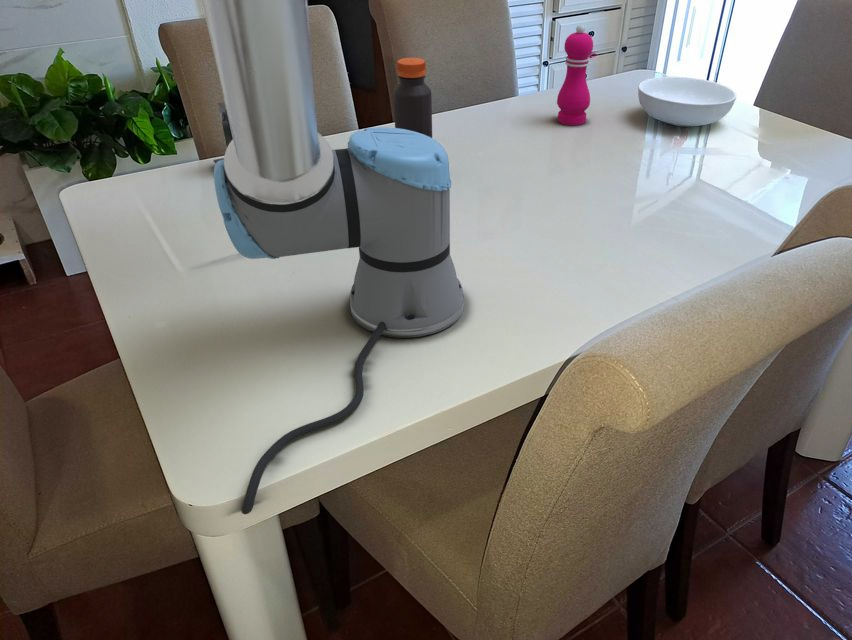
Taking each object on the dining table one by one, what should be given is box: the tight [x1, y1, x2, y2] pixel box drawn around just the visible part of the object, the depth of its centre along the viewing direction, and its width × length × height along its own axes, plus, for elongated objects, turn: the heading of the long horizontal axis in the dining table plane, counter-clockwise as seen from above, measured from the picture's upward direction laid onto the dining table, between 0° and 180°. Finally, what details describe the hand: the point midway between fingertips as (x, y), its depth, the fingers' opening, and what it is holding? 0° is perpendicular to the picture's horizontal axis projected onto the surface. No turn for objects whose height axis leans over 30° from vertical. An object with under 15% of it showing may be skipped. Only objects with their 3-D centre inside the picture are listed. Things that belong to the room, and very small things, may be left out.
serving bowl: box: [637, 76, 737, 128], centre depth 156 cm, size 21×21×7 cm
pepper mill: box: [556, 24, 594, 126], centre depth 151 cm, size 7×7×20 cm
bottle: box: [392, 57, 433, 139], centre depth 127 cm, size 7×7×20 cm
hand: (259, 13), depth 95 cm, fingers closed
